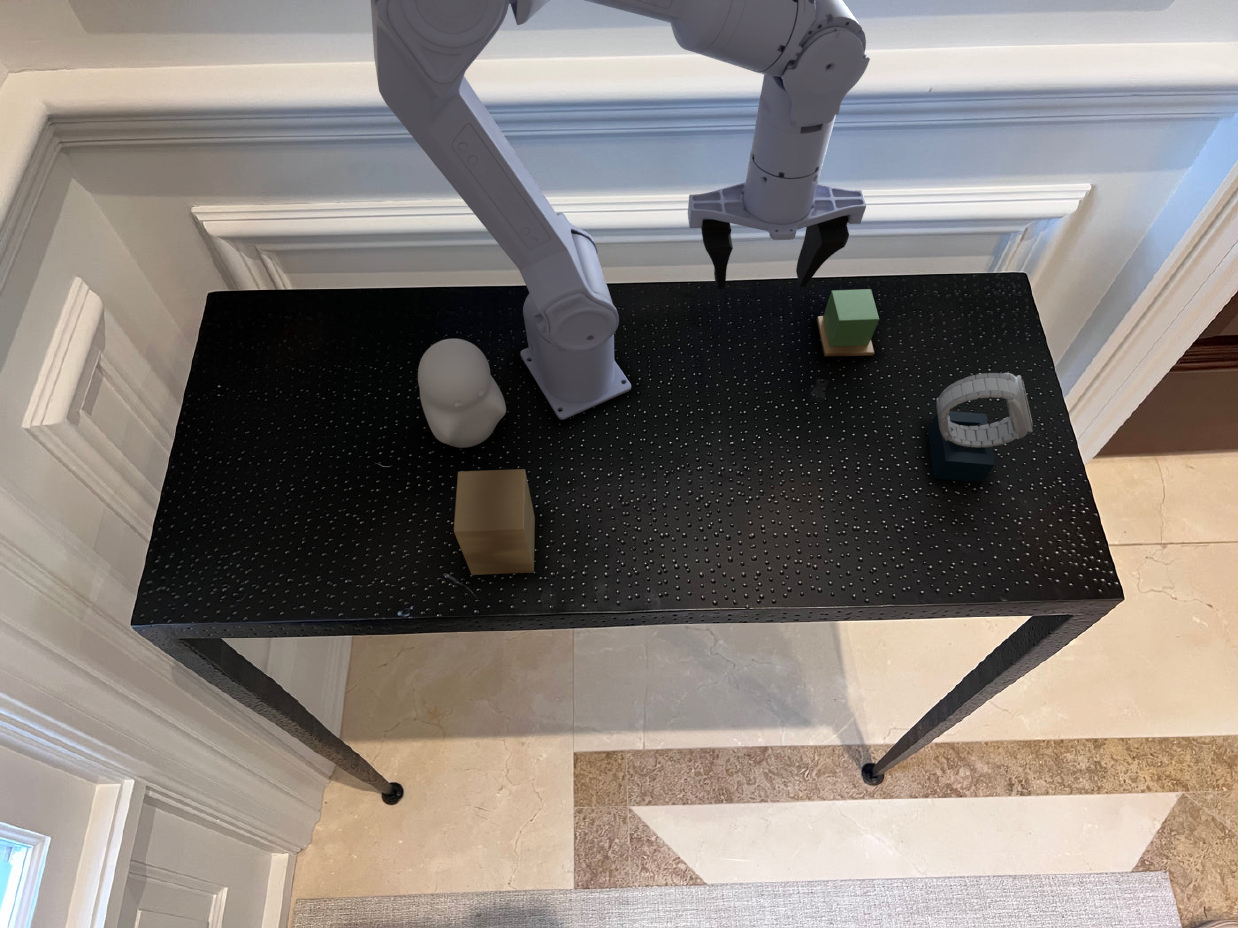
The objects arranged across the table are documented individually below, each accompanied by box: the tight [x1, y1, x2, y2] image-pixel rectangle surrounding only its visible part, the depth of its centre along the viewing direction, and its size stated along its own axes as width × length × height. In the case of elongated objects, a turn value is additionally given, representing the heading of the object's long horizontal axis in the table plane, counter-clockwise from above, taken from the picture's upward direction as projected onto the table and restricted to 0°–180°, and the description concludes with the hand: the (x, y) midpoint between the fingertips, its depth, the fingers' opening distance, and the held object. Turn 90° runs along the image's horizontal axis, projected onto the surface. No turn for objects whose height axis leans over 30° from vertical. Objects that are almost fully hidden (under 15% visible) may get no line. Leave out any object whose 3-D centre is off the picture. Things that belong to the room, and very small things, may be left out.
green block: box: [822, 288, 880, 347], centre depth 80 cm, size 4×4×4 cm
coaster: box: [816, 315, 875, 357], centre depth 81 cm, size 5×5×1 cm
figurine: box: [417, 338, 507, 449], centre depth 71 cm, size 7×8×12 cm
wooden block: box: [453, 468, 536, 576], centre depth 66 cm, size 5×5×8 cm
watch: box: [927, 372, 1034, 483], centre depth 69 cm, size 6×8×11 cm
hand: (760, 280), depth 73 cm, fingers open, 7 cm apart
